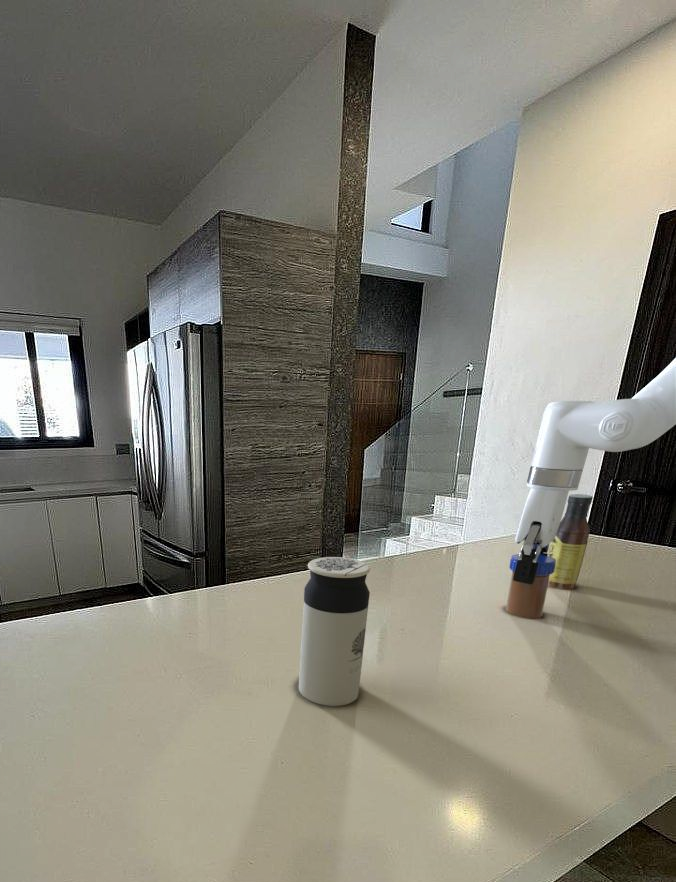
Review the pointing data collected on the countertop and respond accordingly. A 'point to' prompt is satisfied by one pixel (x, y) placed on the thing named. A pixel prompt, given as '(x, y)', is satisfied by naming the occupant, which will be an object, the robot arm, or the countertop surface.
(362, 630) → the travel mug
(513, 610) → the jar
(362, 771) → the countertop surface
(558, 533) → the sauce bottle
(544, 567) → the lid
